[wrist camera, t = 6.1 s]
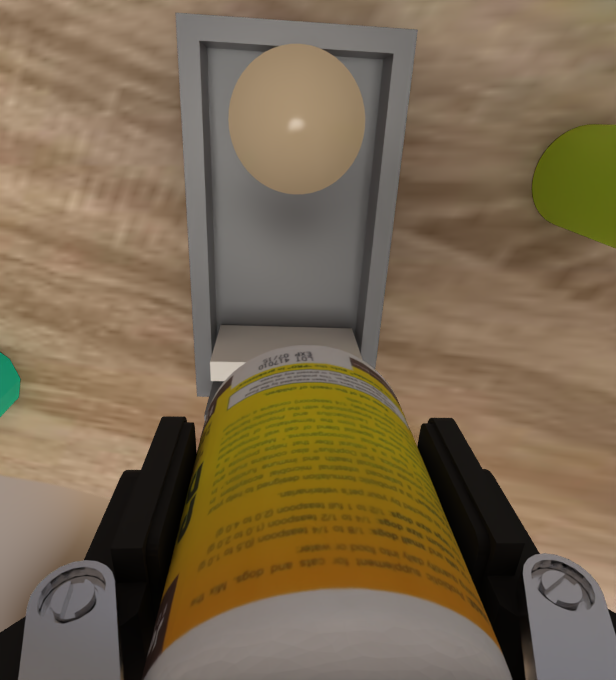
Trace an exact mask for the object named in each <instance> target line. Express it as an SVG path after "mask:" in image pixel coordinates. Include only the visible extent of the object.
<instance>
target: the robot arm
mask: <svg viewBox="0 0 616 680" xmlns="http://www.w3.org/2000/svg"><path fill="white" fill-rule="evenodd" d="M417 448H418V450H419V452H420V455H421V457H422V459H423V462H424V464H425V466H426V469H427V471H428V474H429V476H430V478H431V481H432V483H433V486H434V488H435V491H436V493H437V496H438V498H439V501H440V503H441V506H442V508H443V511H444V513H445V516H446V518H447V521H448V523H449V526H450V528H451V530H452V533H453V535H454V538H455V540H456V542H457V545H458V547H459V549H460V552H461V554H462V557H463V559H464V561H465V564H466V566H467V569H468V571H469V574H470V576H471V578H472V581H473V583H474V585H475V588H476V590H477V593H478V595H479V597H480V600H481V602H482V604H483V607H484V609H485V612H486V614H487V616H488V619H489V621H490V624H491V626H492V628H493V631H494V633H495V636H496V638H497V641H498V643H499V646H500V648H501V651H502V653H503V656H504V658H505V661H506V664H507V666H508V669H509V671H510V674H511V677H512V680H616V613H614V612H612V611H611V610H609V609H608V608H607V605H606V601H605V598H604V595H603V593H602V591H601V588H600V586H599V584H598V583H597V582H596V581H595V580H594V578H593V577H592V576H591V575H590V574H589V573H588V572H587V571H586V570H584V569H583V568H582V567H581V566H579V565H578V564H576V563H574V562H572V561H571V560H569V559H566V558H564V557H561V556H558V555H553V554H546V553H544V554H540V553H539V552H538V550H537V548H536V547H535V545H534V543H533V542H532V540H531V538H530V537H529V535H528V533H527V531H526V530H525V528H524V526H523V525H522V523H521V521H520V520H519V518H518V516H517V515H516V513H515V511H514V510H513V508H512V506H511V505H510V503H509V501H508V500H507V498H506V496H505V495H504V493H503V491H502V489H501V488H500V486H499V484H498V483H497V481H496V479H495V478H494V476H493V475H492V473H491V472H490V471H488V470H487V469H482V467H481V466H480V464H479V462H478V460H477V459H476V457H475V455H474V453H473V452H472V450H471V448H470V446H469V445H468V443H467V441H466V440H465V438H464V436H463V434H462V433H461V431H460V429H459V427H458V426H457V424H456V422H455V421H454V419H452V418H430V419H429V421H428V424H427V423H423V424H422V425H421V429H420V435H419V440H418V446H417ZM196 455H197V453H196V438H195V426H194V423H190V422H187V420H186V417H162V418H161V421H160V423H159V426H158V428H157V431H156V433H155V436H154V438H153V441H152V443H151V446H150V449H149V451H148V454H147V456H146V459H145V461H144V464H143V466H142V469H141V470H126V471H124V472H123V474H122V476H121V477H120V480H119V482H118V484H117V487H116V489H115V491H114V493H113V496H112V498H111V500H110V502H109V505H108V507H107V509H106V512H105V514H104V516H103V518H102V521H101V523H100V525H99V527H98V529H97V532H96V534H95V536H94V539H93V541H92V543H91V545H90V548H89V550H88V552H87V554H86V557H85V559H84V561H77V562H72V563H70V564H67V565H65V566H62V567H60V568H58V569H57V570H55V571H53V572H52V573H50V574H49V575H47V576H46V577H45V578H44V579H43V580H42V581H41V582H40V583H39V584H38V585H37V587H36V588H35V590H34V591H33V593H32V594H31V596H30V599H29V602H28V606H27V611H26V616H25V617H24V618H23V619H21V620H19V621H18V622H16V623H14V624H13V625H11V626H10V627H8V628H7V629H5V630H4V631H2V632H0V680H141V679H142V675H143V671H144V667H145V663H146V660H147V655H148V651H149V648H150V644H151V641H152V636H153V632H154V626H155V622H156V618H157V615H158V611H159V608H160V604H161V600H162V596H163V591H164V587H165V583H166V579H167V575H168V571H169V567H170V563H171V559H172V554H173V550H174V545H175V541H176V537H177V533H178V528H179V524H180V521H181V517H182V513H183V508H184V504H185V500H186V496H187V492H188V488H189V484H190V480H191V476H192V472H193V467H194V463H195V459H196Z"/></svg>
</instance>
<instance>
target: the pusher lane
mask: <svg viewBox="0 0 616 680" xmlns="http://www.w3.org/2000/svg"><path fill="white" fill-rule="evenodd" d="M176 30H177V48H178V66H179V84H180V101H181V119H182V137H183V155H184V172H185V190H186V208H187V226H188V243H189V261H190V279H191V297H192V314H193V332H194V350H195V368H196V385H197V396H202V397H209V399H208V403H207V407H206V411H205V415H204V416H205V420H206V416H207V413H208V410H209V407H210V404H211V402H212V400H213V398H214V396H215V394H216V392H217V391H218V389H219V388H220V386H221V385H222V384H223V382H224V381H211V373H210V360H211V357H212V353H213V350H214V346H215V343H216V339H217V336H218V333H219V329H220V326H221V325H240V326H279V327H317V328H352V331H353V333H354V336H355V339H356V342H357V345H358V348H359V351H360V354H361V357H362V360H363V361H365V362H366V363H367V364H369V365H370V366H371V367H373V368H374V369H375V366H376V358H377V350H378V342H379V334H380V326H381V318H382V310H383V302H384V294H385V286H386V278H387V270H388V262H389V254H390V246H391V239H392V231H393V223H394V215H395V207H396V199H397V191H398V183H399V175H400V167H401V159H402V151H403V143H404V135H405V127H406V119H407V111H408V103H409V95H410V87H411V79H412V71H413V63H414V55H415V47H416V40H417V32H418V30H415V29H401V28H387V27H372V26H358V25H344V24H330V23H315V22H301V21H287V20H273V19H258V18H244V17H230V16H216V15H201V14H187V13H176ZM287 44H306V45H311V46H314V47H318V48H320V49H322V50H324V51H327V52H328V53H330V54H331V55H333V56H334V57H336V58H337V59H338V60H339V61H340V62H341V63H343V64H344V66H345V67H346V68H347V69H348V70H349V71H350V73H351V74H352V76H353V78H354V79H355V81H356V83H357V85H358V87H359V89H360V92H361V95H362V98H363V103H364V109H365V130H364V137H363V141H362V144H361V147H360V150H359V152H358V155H357V157H356V158H355V160H354V162H353V164H352V165H351V166H350V168H349V169H348V170H347V171H346V172H345V174H344V175H343V176H342V177H341V178H339V179H338V180H337V181H336V182H334V183H333V184H331V185H330V186H328V187H326V188H324V189H322V190H320V191H316V192H313V193H308V194H286V193H282V192H278V191H276V190H273V189H271V188H269V187H267V186H265V185H263V184H262V183H260V182H259V181H258V180H256V179H255V178H254V177H253V176H252V175H251V174H250V173H249V172H248V171H247V170H246V168H245V167H244V166H243V164H242V163H241V161H240V160H239V158H238V156H237V154H236V152H235V150H234V147H233V144H232V141H231V137H230V132H229V122H228V116H229V105H230V100H231V96H232V93H233V90H234V87H235V85H236V83H237V81H238V79H239V77H240V76H241V74H242V73H243V71H244V70H245V69H246V68H247V66H248V65H249V64H250V63H251V62H252V61H253V60H254V59H255V58H257V57H258V56H260V55H261V54H263V53H264V52H266V51H268V50H270V49H272V48H275V47H278V46H281V45H287Z"/></svg>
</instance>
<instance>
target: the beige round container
mask: <svg viewBox="0 0 616 680" xmlns="http://www.w3.org/2000/svg"><path fill="white" fill-rule="evenodd" d="M228 122H229V132H230V137H231V141H232V144H233V147H234V150H235V152H236V154H237V156H238V158H239V160H240V161H241V163H242V164H243V166H244V167H245V168H246V170H247V171H248V172H249V173H250V174H251V175H252V176H253V177H254V178H255V179H256V180H258V181H259V182H260V183H262V184H263V185H265V186H267V187H269V188H271V189H273V190H276V191H278V192H282V193H286V194H308V193H313V192H316V191H320V190H322V189H324V188H326V187H328V186H330V185H331V184H333V183H334V182H336V181H337V180H338V179H339V178H341V177H342V176H343V175H344V174H345V172H346V171H347V170H348V169H349V168H350V166H351V165H352V164H353V162H354V160H355V158H356V157H357V155H358V152H359V150H360V147H361V144H362V141H363V137H364V130H365V109H364V103H363V98H362V95H361V92H360V89H359V87H358V85H357V83H356V81H355V79H354V78H353V76H352V74H351V73H350V71H349V70H348V69H347V68H346V67H345V66H344V64H343V63H341V62H340V61H339V60H338V59H337V58H336V57H334V56H333V55H331V54H330V53H328V52H327V51H324V50H322V49H320V48H318V47H314V46H311V45H306V44H287V45H281V46H278V47H275V48H272V49H270V50H268V51H266V52H264V53H263V54H261V55H260V56H258V57H257V58H255V59H254V60H253V61H252V62H251V63H250V64H249V65H248V66H247V68H246V69H245V70H244V71H243V73H242V74H241V76H240V77H239V79H238V81H237V83H236V85H235V87H234V90H233V93H232V96H231V100H230V105H229V116H228Z"/></svg>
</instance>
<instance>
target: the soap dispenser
mask: <svg viewBox="0 0 616 680" xmlns="http://www.w3.org/2000/svg"><path fill="white" fill-rule="evenodd" d="M532 195H533V200H534V203H535V206H536V208H537V210H538V211H539V213H540V214H541V215H542V216H543V217H544V218H545V219H546V220H547V221H549V222H550V223H552V224H554V225H557V226H559V227H562V228H565V229H567V230H570V231H572V232H575V233H577V234H580V235H583V236H585V237H588V238H590V239H593V240H595V241H598V242H601V243H603V244H606V245H608V246H611V247H613V248H616V125H599V124H591V125H584V126H580V127H577V128H574V129H572V130H570V131H568V132H566V133H564V134H563V135H561V136H560V137H559V138H557V139H556V140H555V141H554V142H553V143H552V144H551V145H550V146H549V147H548V148H547V150H546V151H545V152H544V154H543V155H542V157H541V159H540V160H539V162H538V164H537V167H536V169H535V173H534V176H533V182H532Z"/></svg>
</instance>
